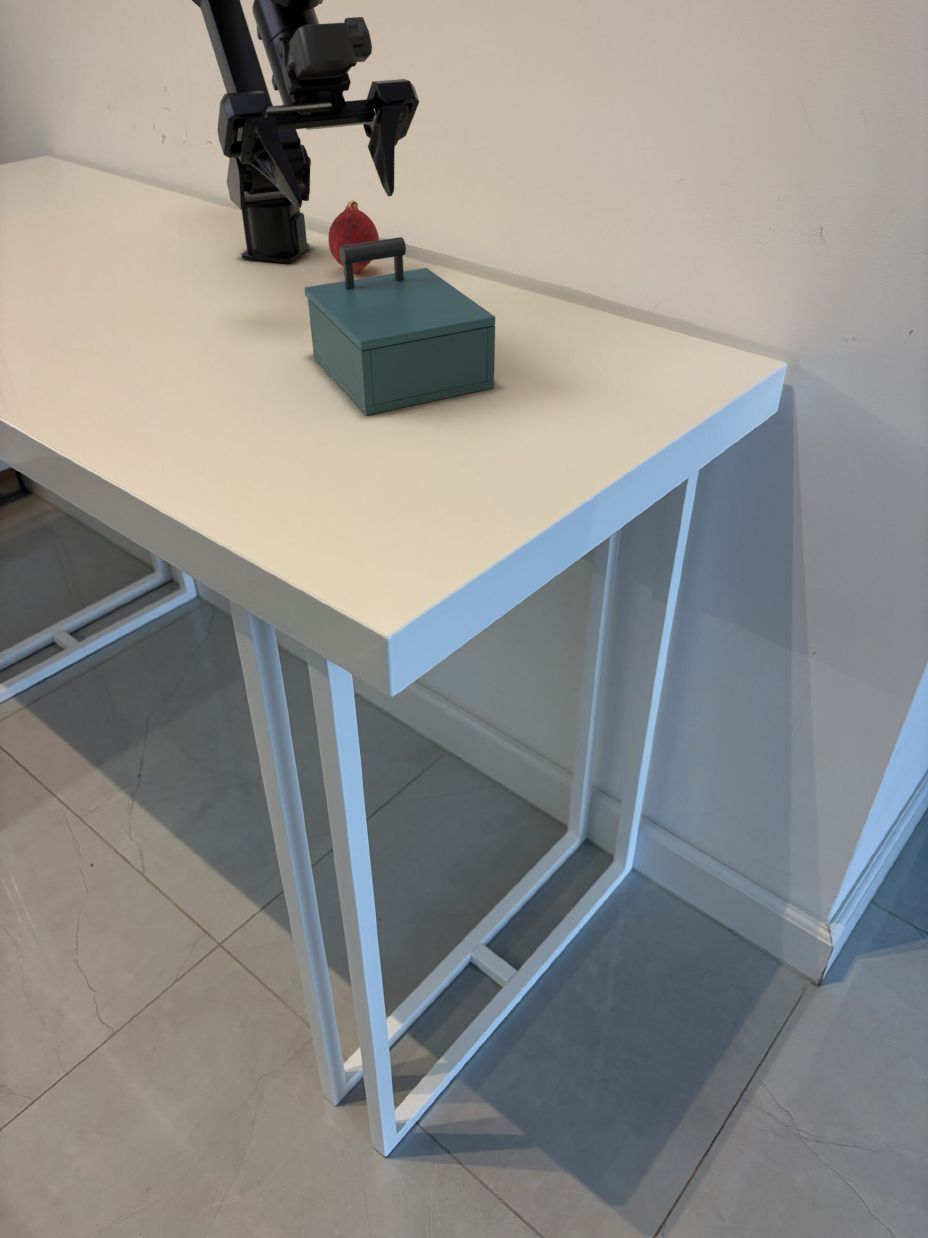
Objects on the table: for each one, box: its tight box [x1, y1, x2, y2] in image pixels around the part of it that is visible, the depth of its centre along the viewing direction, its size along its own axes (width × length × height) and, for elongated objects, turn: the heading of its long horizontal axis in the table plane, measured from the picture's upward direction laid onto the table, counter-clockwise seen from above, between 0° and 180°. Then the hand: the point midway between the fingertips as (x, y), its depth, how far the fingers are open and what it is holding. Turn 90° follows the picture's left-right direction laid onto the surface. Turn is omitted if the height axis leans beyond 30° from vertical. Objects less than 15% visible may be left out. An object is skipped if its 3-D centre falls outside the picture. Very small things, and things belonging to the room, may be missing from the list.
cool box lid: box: [303, 236, 496, 350], centre depth 83 cm, size 14×13×5 cm
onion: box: [328, 199, 380, 274], centre depth 107 cm, size 6×6×8 cm
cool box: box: [307, 298, 496, 416], centre depth 86 cm, size 14×13×6 cm
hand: (346, 199), depth 88 cm, fingers open, 9 cm apart
